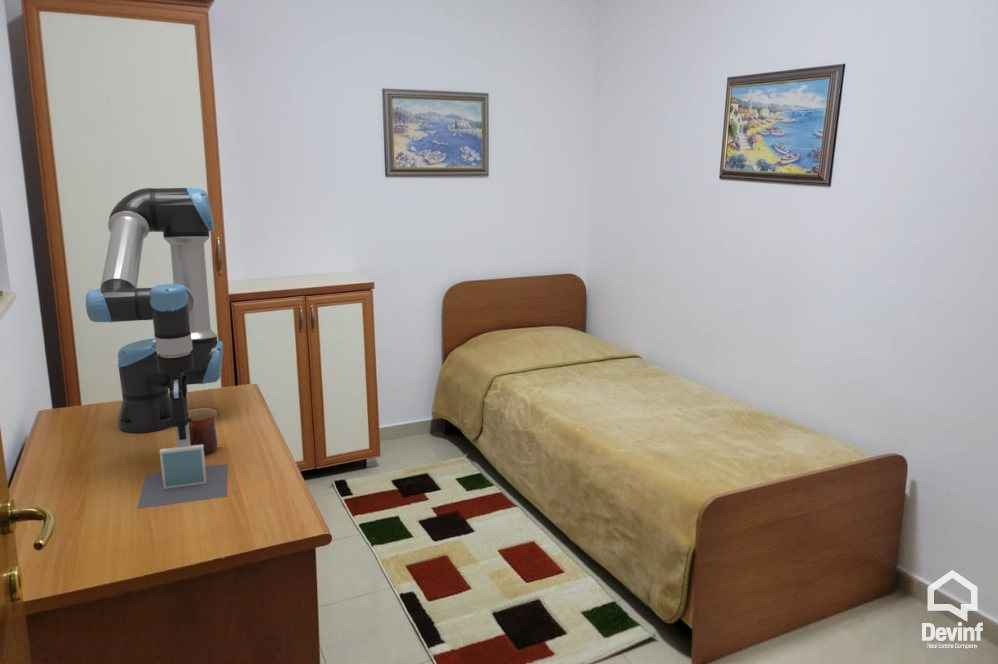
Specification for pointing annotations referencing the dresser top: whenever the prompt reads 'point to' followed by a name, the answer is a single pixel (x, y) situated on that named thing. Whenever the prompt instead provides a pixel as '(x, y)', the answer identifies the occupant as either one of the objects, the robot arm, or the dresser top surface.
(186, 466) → the tile
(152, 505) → the mat
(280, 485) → the dresser top surface
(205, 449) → the mug
